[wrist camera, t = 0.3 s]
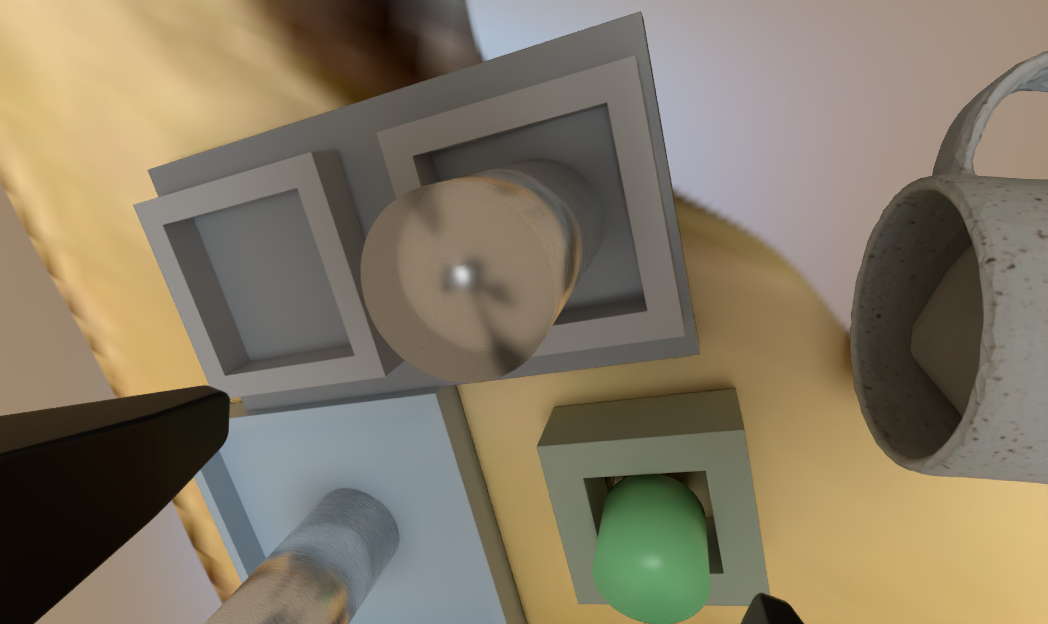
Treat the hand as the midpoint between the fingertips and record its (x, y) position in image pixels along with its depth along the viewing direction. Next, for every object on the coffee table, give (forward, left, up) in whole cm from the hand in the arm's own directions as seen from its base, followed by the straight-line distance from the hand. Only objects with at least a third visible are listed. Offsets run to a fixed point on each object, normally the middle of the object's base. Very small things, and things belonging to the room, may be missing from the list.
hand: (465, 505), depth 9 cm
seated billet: (+3, +1, -12) cm, 12 cm away
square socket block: (-8, -1, -13) cm, 15 cm away
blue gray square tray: (-10, +13, -13) cm, 21 cm away
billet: (-10, +13, -12) cm, 21 cm away
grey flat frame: (+3, +6, -13) cm, 15 cm away
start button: (-8, -1, -10) cm, 13 cm away
